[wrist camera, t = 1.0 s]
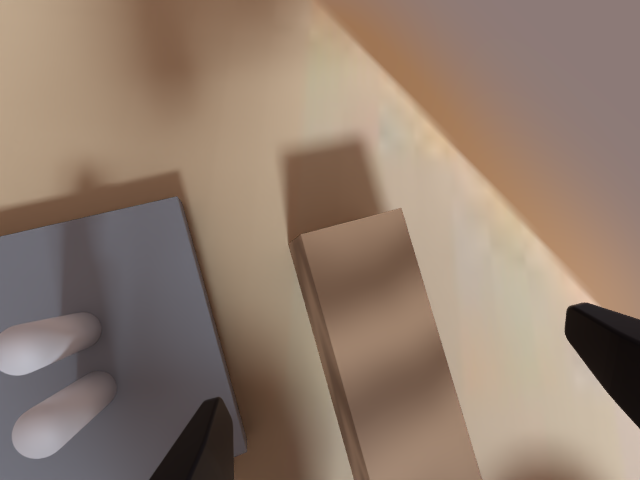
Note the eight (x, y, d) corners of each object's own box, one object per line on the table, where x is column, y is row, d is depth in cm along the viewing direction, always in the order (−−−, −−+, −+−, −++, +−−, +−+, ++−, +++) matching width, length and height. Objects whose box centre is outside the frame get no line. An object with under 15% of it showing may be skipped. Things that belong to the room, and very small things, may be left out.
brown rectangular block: (448, 496, 23) (504, 555, 18) (368, 535, 21) (406, 610, 17) (368, 222, 24) (401, 207, 19) (287, 244, 22) (300, 234, 17)
